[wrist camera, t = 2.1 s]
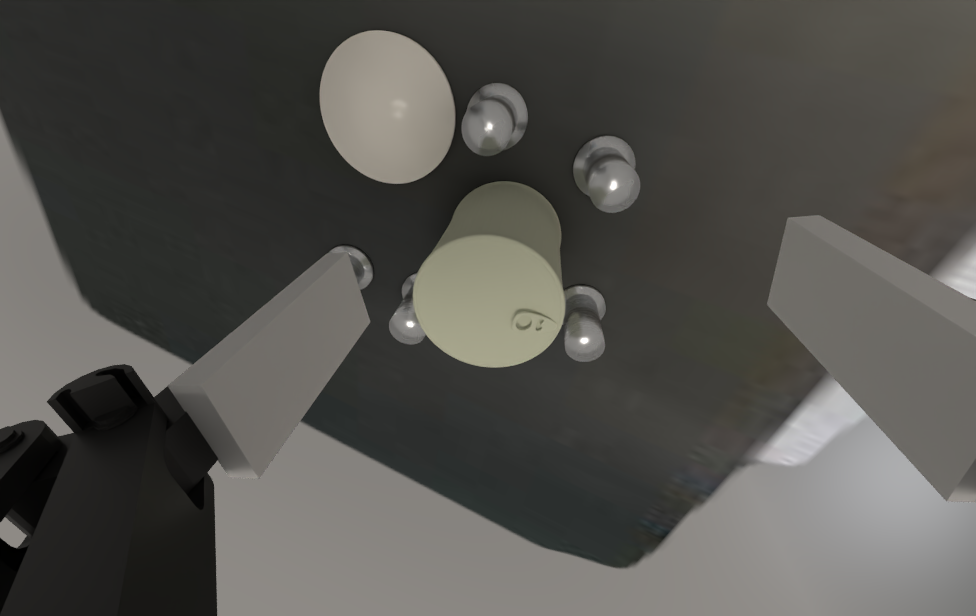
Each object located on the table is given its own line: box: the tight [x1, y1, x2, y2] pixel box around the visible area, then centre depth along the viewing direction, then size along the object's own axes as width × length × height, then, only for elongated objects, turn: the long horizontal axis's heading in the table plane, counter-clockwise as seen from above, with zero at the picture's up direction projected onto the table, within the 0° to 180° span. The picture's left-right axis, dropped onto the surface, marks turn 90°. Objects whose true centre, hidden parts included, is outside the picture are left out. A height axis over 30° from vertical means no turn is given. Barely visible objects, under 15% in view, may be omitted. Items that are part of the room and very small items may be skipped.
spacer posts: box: [329, 83, 640, 362], centre depth 31 cm, size 25×19×6 cm
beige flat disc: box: [320, 30, 456, 184], centre depth 30 cm, size 10×10×1 cm
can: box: [413, 181, 565, 367], centre depth 29 cm, size 9×9×12 cm
